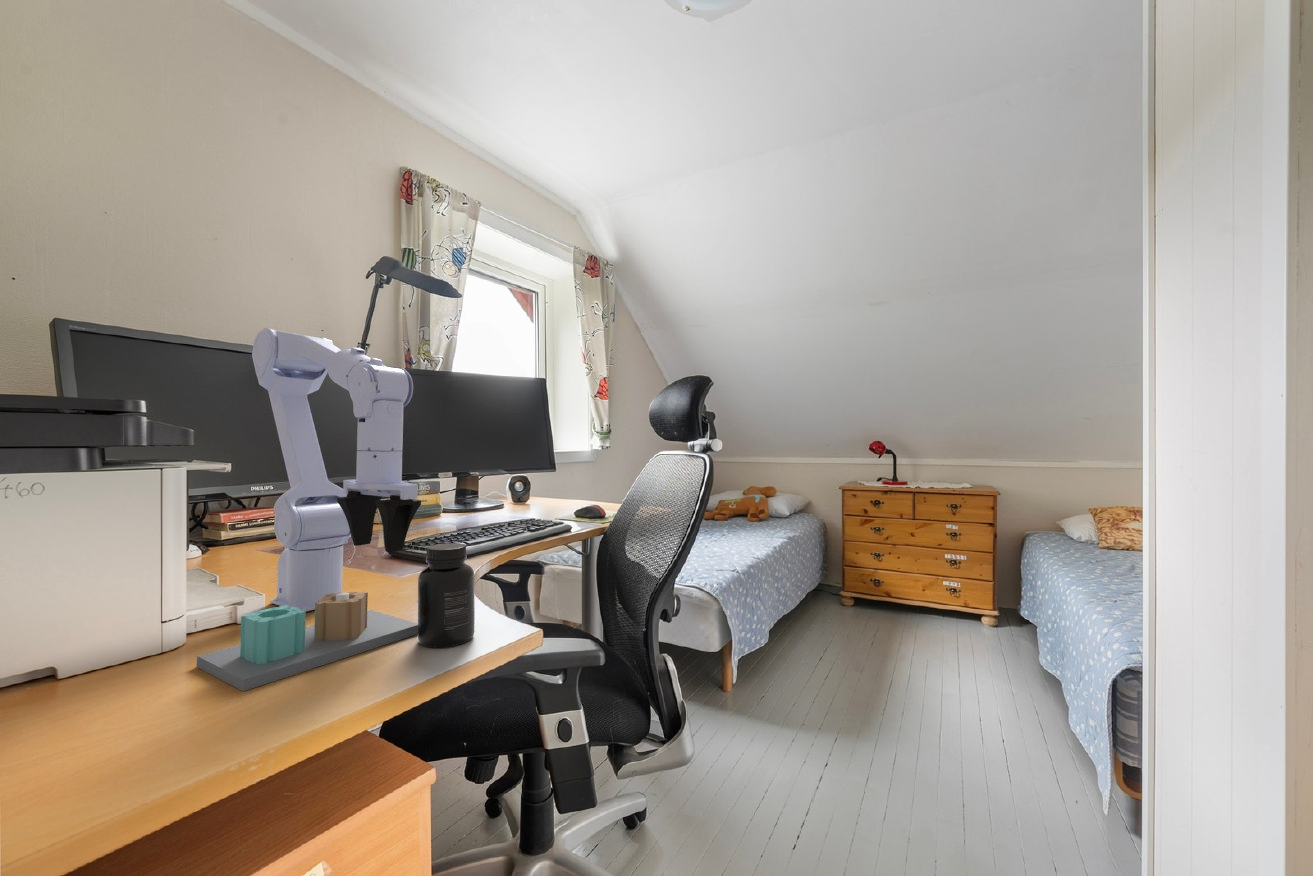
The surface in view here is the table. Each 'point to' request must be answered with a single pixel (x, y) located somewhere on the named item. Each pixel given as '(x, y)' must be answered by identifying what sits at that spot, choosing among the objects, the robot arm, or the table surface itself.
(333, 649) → the gear board
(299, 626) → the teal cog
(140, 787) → the table surface
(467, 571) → the supplement bottle
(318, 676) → the table surface
